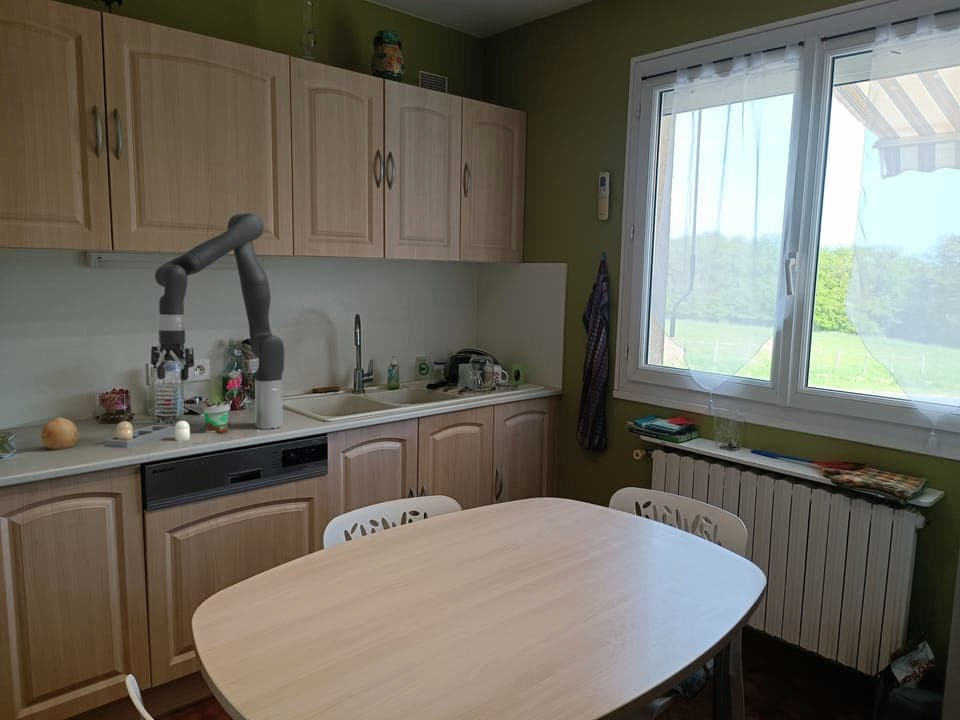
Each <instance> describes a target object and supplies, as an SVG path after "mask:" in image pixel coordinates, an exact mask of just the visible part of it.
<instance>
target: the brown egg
mask: <svg viewBox="0 0 960 720" xmlns="http://www.w3.org/2000/svg"><path fill="white" fill-rule="evenodd" d="M133 431H134V430H133V424H132V423H130V422H129V421H125V420H123V421H121V422H119V423H118V424H117V426H116V436H117V440H124V441H127V440H130V439H133Z"/></svg>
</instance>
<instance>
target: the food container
mask: <svg viewBox="0 0 960 720" xmlns="http://www.w3.org/2000/svg"><path fill="white" fill-rule="evenodd" d="M230 410H231V407H230V404H229V402H227V401H224V400H223V401H221V400H217V403H215V404H212V405H210V406H204V407H203V414H204V427H205V434H216V435H218V434H221V435H224V434H223V433H225V434H227V433H228V423H229V422H228V421H229V411H230ZM226 432H227V433H226Z"/></svg>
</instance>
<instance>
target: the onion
mask: <svg viewBox="0 0 960 720" xmlns="http://www.w3.org/2000/svg"><path fill="white" fill-rule="evenodd" d="M40 436H41V440H42V441H41V442H42V444H43V446H44V447H46V448H48V449H49V450H53V451H54V450H55V451H56V450H57V451H58V450H65V449H70V448H72V447H73V446H75V444H76V443H77V442H78V440H79V429H78V427H77V425H76V424H75V423H74V422H73V421H72V420H70V419H67V418H65V417H55V418H53V419H51V420H49V421H48V422H47V423H46V424H45V425H44V426H43V428H42V430H41V435H40Z"/></svg>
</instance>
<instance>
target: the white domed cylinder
mask: <svg viewBox="0 0 960 720" xmlns="http://www.w3.org/2000/svg"><path fill="white" fill-rule="evenodd" d="M174 431H175V434H174V440H175V441H178V442H182V441H183V442H184V441H189V440H191V430H190V424H189V422H188V421H185V420H180V421H177V422H176V424H175V425H174Z"/></svg>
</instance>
